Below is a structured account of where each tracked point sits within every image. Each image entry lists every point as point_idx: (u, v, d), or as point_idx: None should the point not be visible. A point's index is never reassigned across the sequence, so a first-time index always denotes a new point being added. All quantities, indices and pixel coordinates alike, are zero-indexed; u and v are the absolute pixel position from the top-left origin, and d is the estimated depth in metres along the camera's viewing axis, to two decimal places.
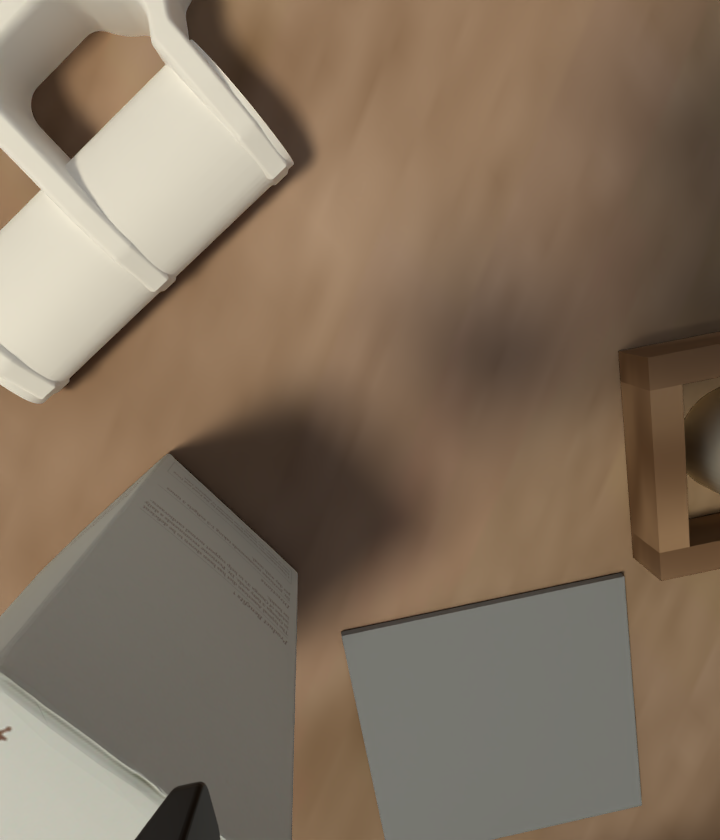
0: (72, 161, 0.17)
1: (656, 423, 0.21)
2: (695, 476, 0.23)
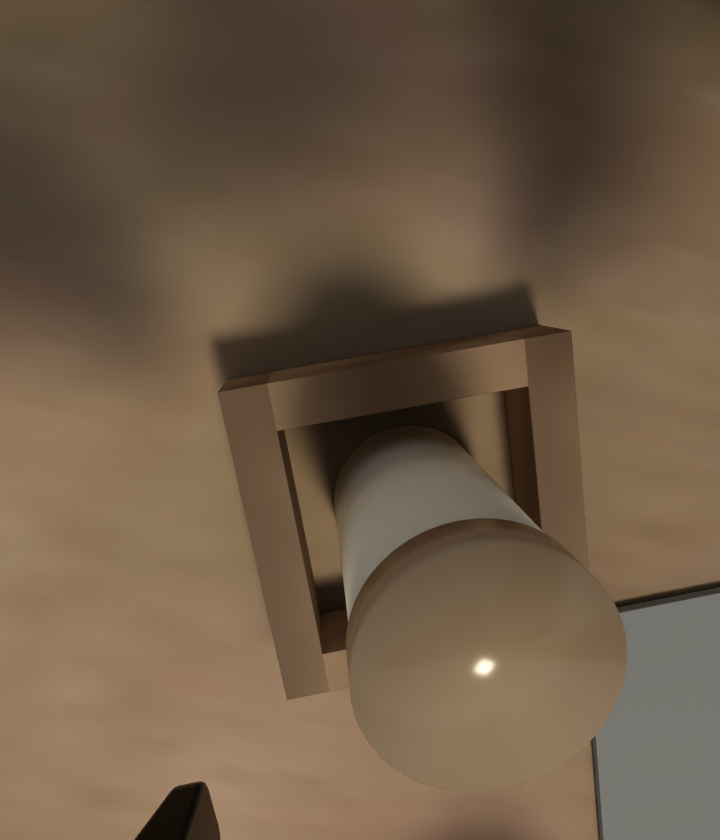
0: None
1: None
2: None
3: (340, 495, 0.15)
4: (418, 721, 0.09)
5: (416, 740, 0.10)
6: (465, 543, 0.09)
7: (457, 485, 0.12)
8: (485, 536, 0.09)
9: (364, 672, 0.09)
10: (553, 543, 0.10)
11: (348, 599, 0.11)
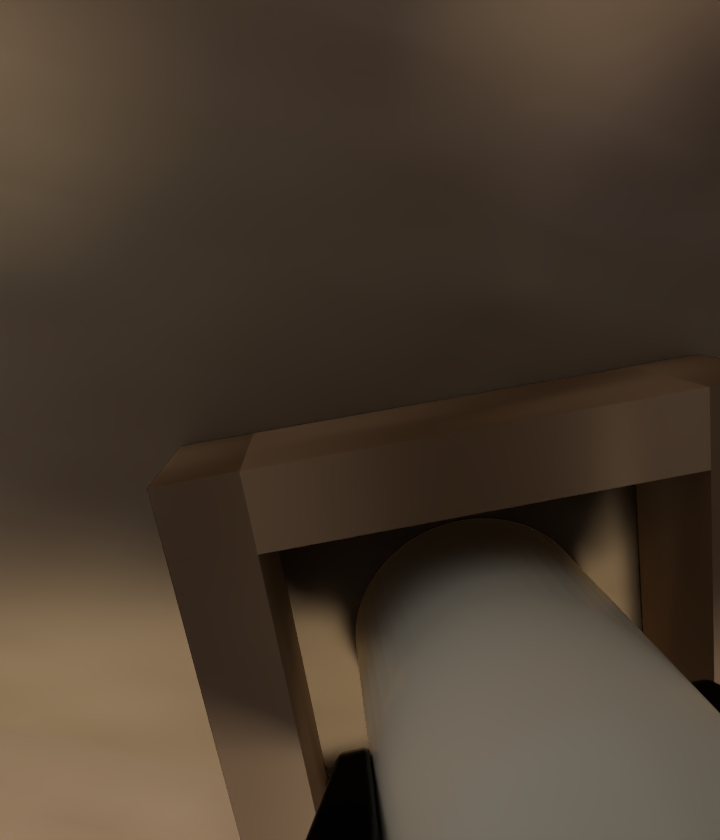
0: None
1: None
2: None
3: (369, 650, 0.09)
4: None
5: None
6: None
7: (652, 739, 0.05)
8: None
9: None
10: None
11: None
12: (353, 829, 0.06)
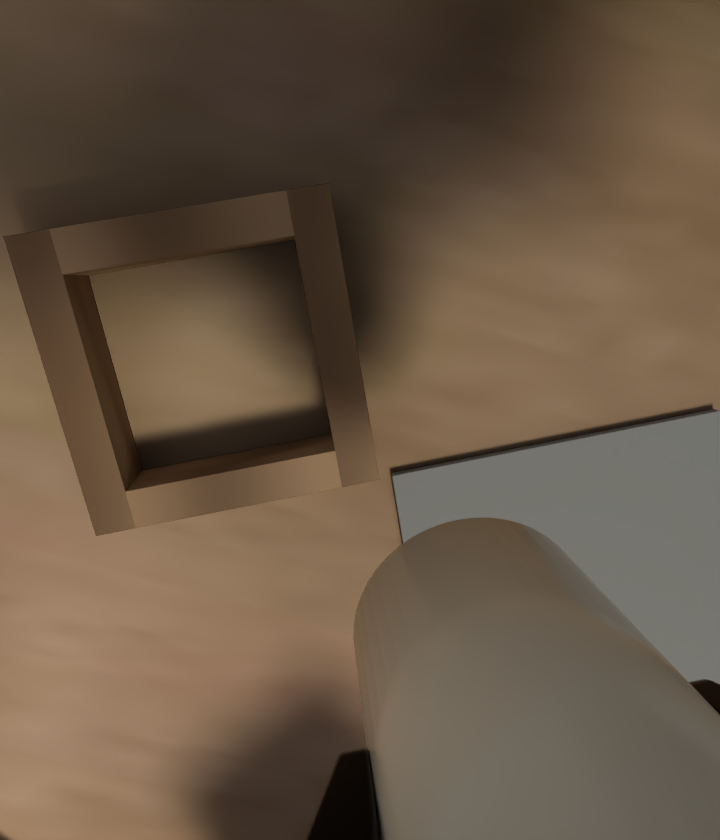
0: None
1: (175, 514, 0.18)
2: None
3: (367, 650, 0.09)
4: None
5: None
6: None
7: (648, 738, 0.05)
8: None
9: None
10: None
11: None
12: (353, 829, 0.06)
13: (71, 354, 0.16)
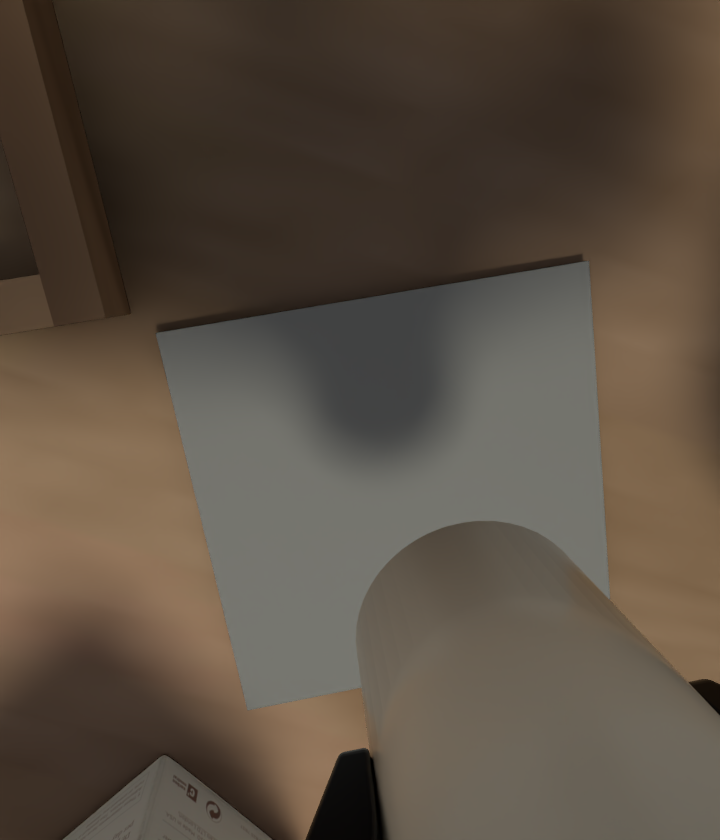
0: None
1: None
2: None
3: (370, 654, 0.09)
4: None
5: None
6: None
7: (655, 746, 0.05)
8: None
9: None
10: None
11: None
12: (353, 829, 0.06)
13: None
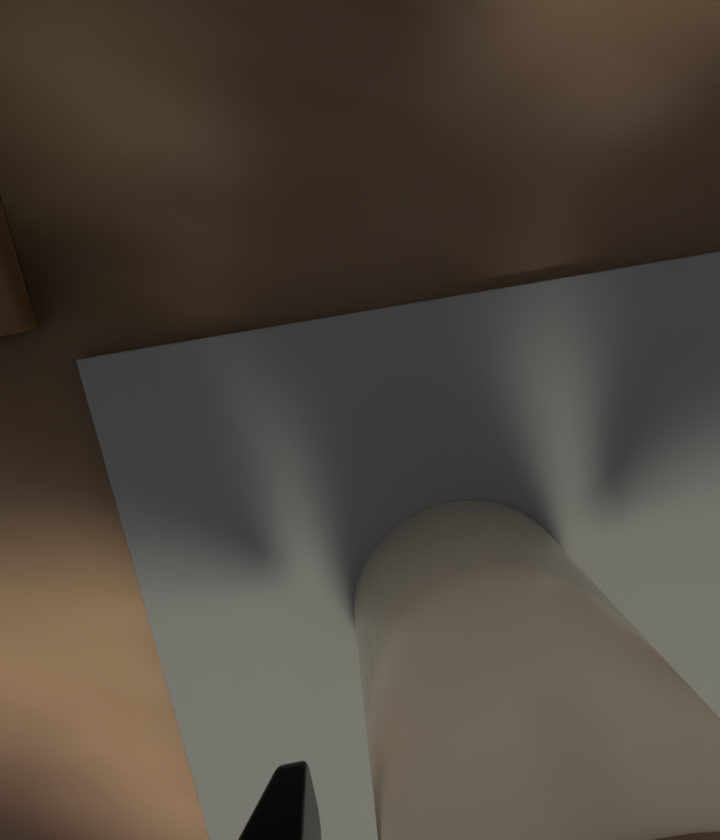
0: None
1: None
2: None
3: (365, 617, 0.10)
4: None
5: None
6: None
7: (598, 675, 0.06)
8: None
9: None
10: None
11: None
12: None
13: None
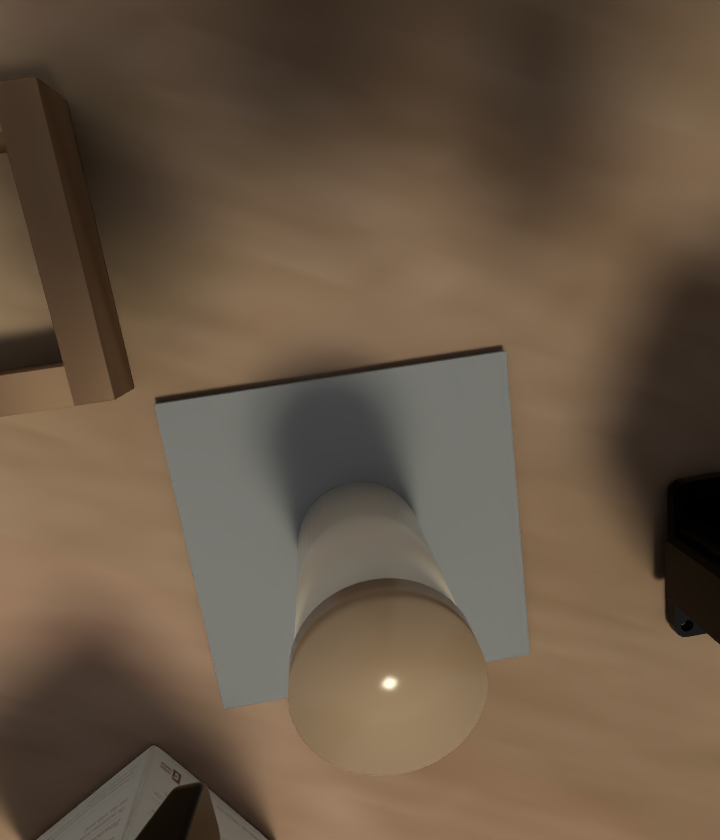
0: None
1: None
2: None
3: (301, 540, 0.19)
4: (337, 724, 0.13)
5: (336, 737, 0.13)
6: (369, 598, 0.13)
7: (380, 546, 0.15)
8: (385, 594, 0.13)
9: (298, 688, 0.13)
10: (436, 598, 0.13)
11: (295, 631, 0.15)
12: None
13: None
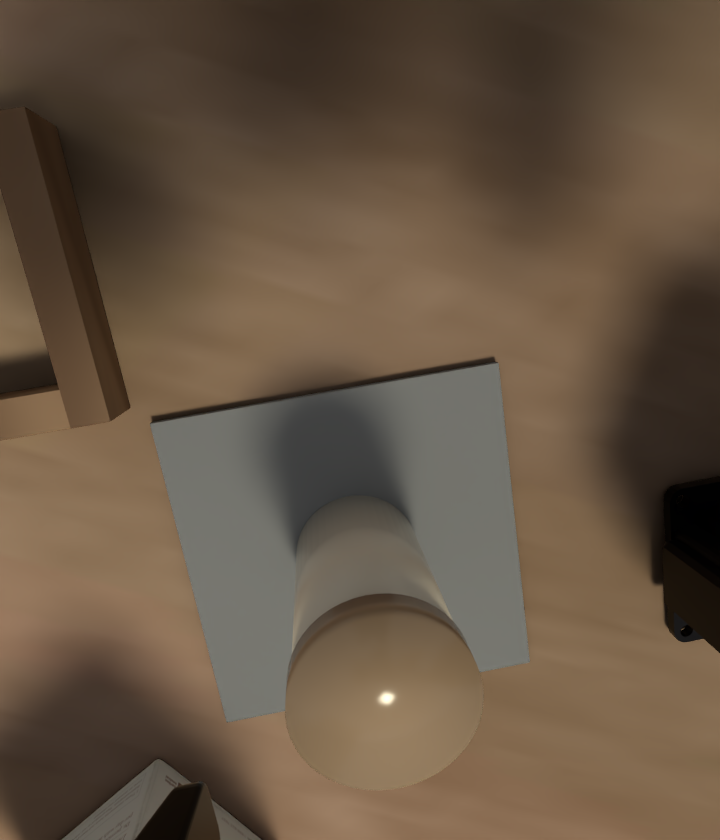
0: None
1: None
2: None
3: (298, 555, 0.19)
4: (335, 740, 0.13)
5: (334, 753, 0.13)
6: (364, 614, 0.13)
7: (375, 560, 0.16)
8: (379, 609, 0.13)
9: (295, 706, 0.13)
10: (430, 612, 0.13)
11: (292, 648, 0.15)
12: None
13: None
